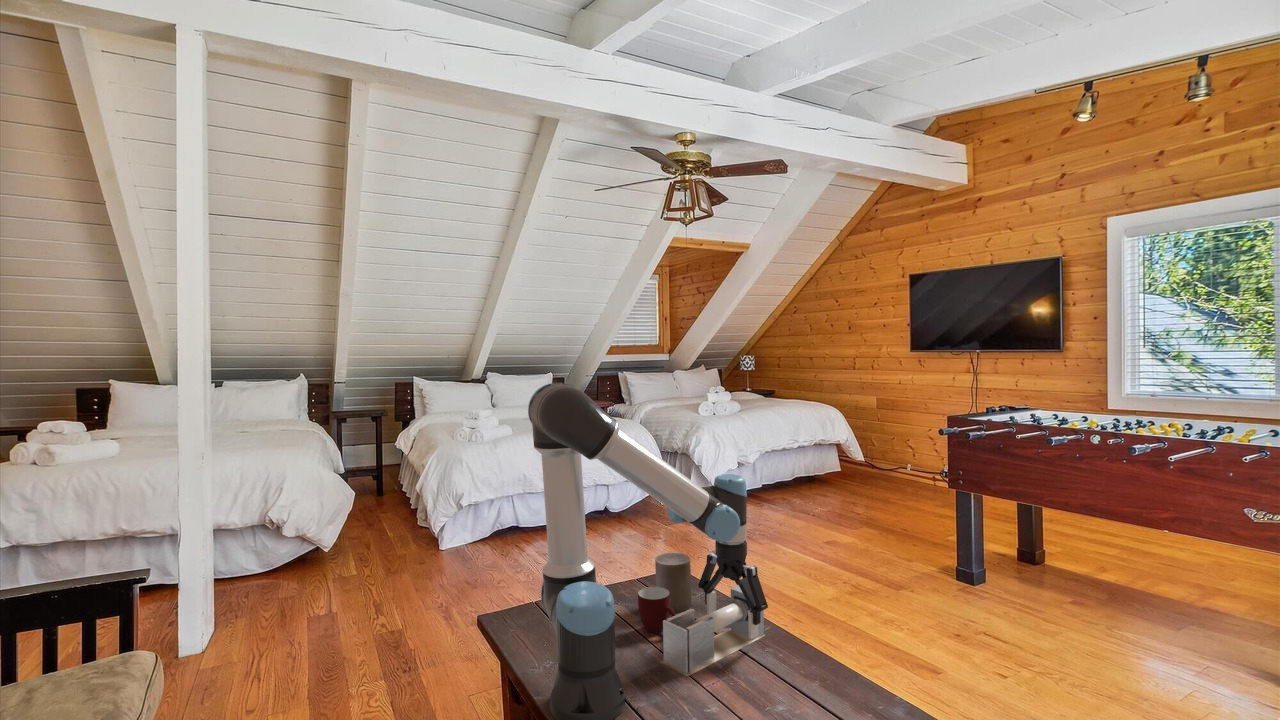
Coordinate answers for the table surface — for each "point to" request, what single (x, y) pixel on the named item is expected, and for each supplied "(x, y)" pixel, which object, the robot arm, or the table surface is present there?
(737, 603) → the slip tube
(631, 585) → the table surface
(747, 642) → the base board
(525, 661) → the table surface
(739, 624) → the socket block
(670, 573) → the pillar candle
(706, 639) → the grey u-shaped bracket
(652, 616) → the mug
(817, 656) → the table surface
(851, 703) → the table surface
